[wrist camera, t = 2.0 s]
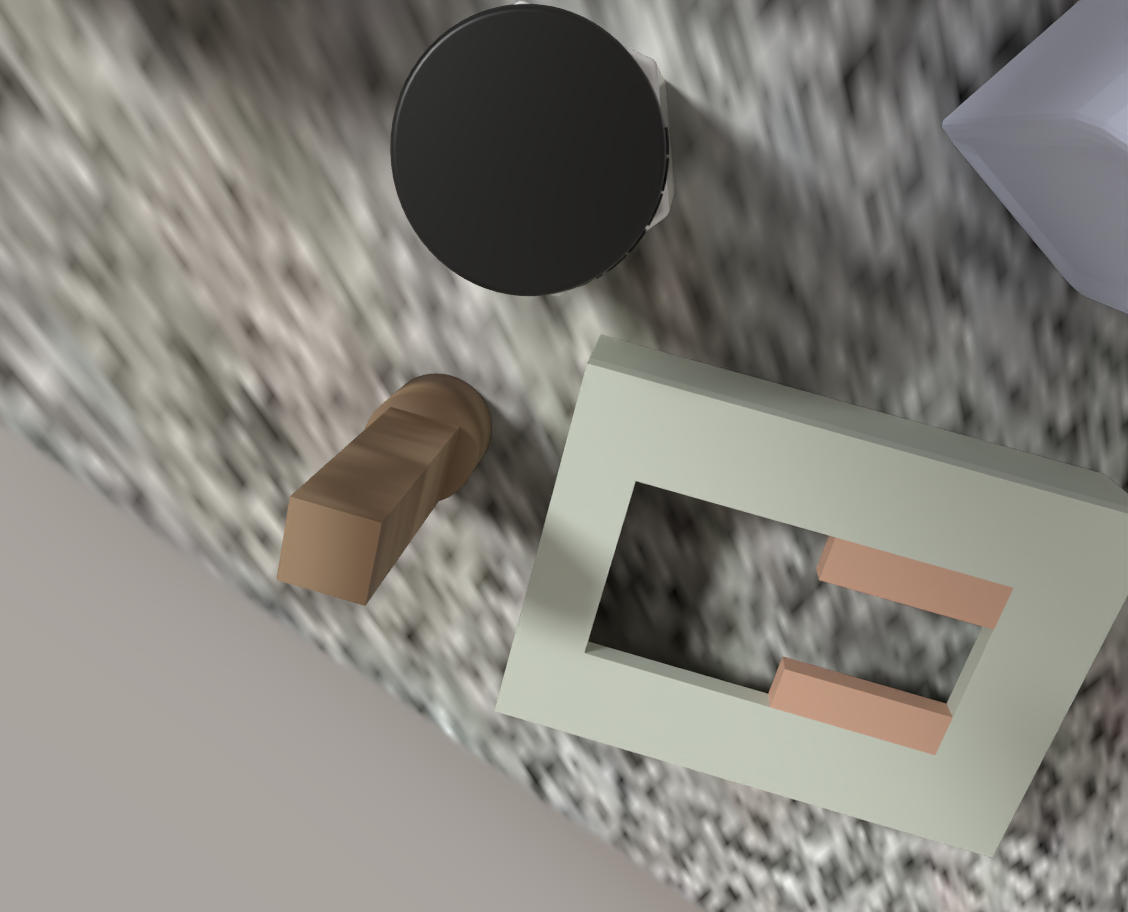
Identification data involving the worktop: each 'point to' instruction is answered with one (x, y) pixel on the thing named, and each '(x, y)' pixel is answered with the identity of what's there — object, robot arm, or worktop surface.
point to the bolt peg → (383, 487)
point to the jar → (532, 149)
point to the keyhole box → (850, 559)
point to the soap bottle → (1061, 145)
